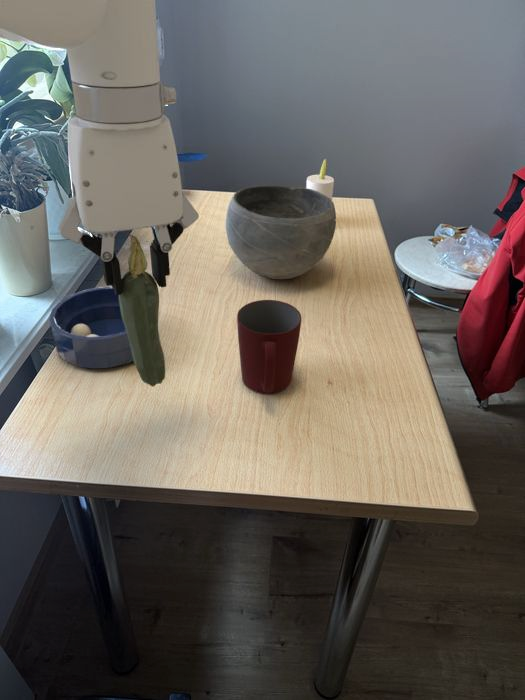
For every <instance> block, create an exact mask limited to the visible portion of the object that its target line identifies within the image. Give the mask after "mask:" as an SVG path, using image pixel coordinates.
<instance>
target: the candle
mask: <svg viewBox="0 0 525 700" xmlns="http://www.w3.org/2000/svg"><path fill="white" fill-rule="evenodd" d="M326 173H327V159H326V158H324V160H323V161H322V164H321V167H320V170H319V174H312V175H309V176H307V177H306V187H305V188H308V189H312V190H315V191H318V192H320V193H321V194H323V195H325V196H327V197H328V198H330V199H331V200H332V201H333V196H334V195H333V194H334V187H335V186H334V185H335V179H334V178H333V177H332V176H330V175H326Z"/></svg>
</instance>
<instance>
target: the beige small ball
mask: <svg viewBox="0 0 525 700" xmlns="http://www.w3.org/2000/svg"><path fill="white" fill-rule="evenodd" d="M71 334H73V335H78V336H85V337H86V336H87V335H90V334H91V331H90V328H89V327H88V326H87V325H85V324H77V325H75V326H74V327H73V328H72V330H71Z"/></svg>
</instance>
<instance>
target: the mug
mask: <svg viewBox="0 0 525 700" xmlns="http://www.w3.org/2000/svg"><path fill="white" fill-rule="evenodd" d="M236 316H237V317H236V324H237V339H238V351H239V360H240V371H241V379H242V382H243V385H245V387H246V388H248V389H249V390H251V391H252V392H255V393H258V394H264V395H271V394H277V393H280V392H283V391H285V390H286V389H287V388H288V387H289V386H290V385H291V383H292V378H293V374H294V368H295V364H296V359H297V358H296V357H297V352H298V346H299V342H300V333H301V326H302V314H301V311H299V310H298V308H296V307H295V306H294V305H292V304H290V303H287V302H284V301H281V300H276V299H261V300H254V301H251V302H249V303H246V304H245V305H243V306H242V307H241V308H240V309H239V310H238V312H237V315H236Z"/></svg>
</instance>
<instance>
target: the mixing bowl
mask: <svg viewBox="0 0 525 700" xmlns="http://www.w3.org/2000/svg"><path fill="white" fill-rule="evenodd" d="M48 320H49V325H50V328H51V332H52V336H53V340H54V344H55V348H56V352H57V355H58V356H60V357H61V358H62V359H63V361H65V362H67V363H69V364H71V365H73V366H76V367H81V368H87V369H88V368H89V369H109V368H113V367H118V366H123V365H126V364H129V363H131V362H134V360H133V357H132V351H131V347H130V344H129V339H128V336H127V332H126V329H125V326H124V323H123V320H122V316H121V311H120V304H119V295H116V294H115V292H114V290H113V288H112V286H98V287H92V288H87V289H84V290H80V291H78V292H74V293H71V294H70V295H68V296H66V297H64V298H62V299H61V300H60V301H58V302H57V303H56V305H55V306H53V308H52V309H51V311H50V314H49V316H48ZM77 324H85V325H87V326H88V327H89V328H90V331H91V334H95V335H98V336H99V337H85V336H78V335H73V334H71V330H72V328H73V327H74V326H75V325H77Z"/></svg>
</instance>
